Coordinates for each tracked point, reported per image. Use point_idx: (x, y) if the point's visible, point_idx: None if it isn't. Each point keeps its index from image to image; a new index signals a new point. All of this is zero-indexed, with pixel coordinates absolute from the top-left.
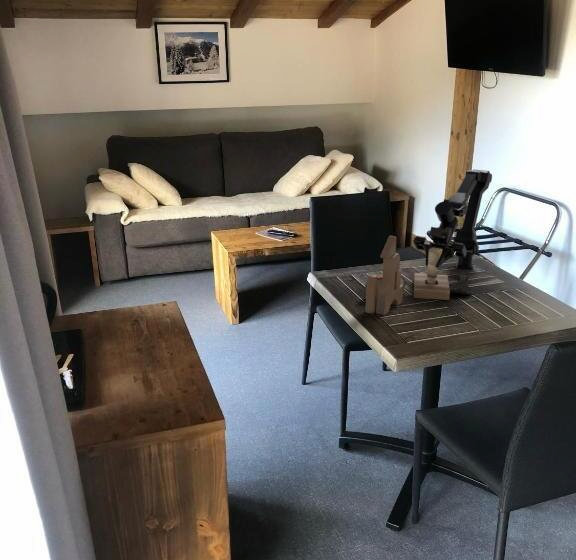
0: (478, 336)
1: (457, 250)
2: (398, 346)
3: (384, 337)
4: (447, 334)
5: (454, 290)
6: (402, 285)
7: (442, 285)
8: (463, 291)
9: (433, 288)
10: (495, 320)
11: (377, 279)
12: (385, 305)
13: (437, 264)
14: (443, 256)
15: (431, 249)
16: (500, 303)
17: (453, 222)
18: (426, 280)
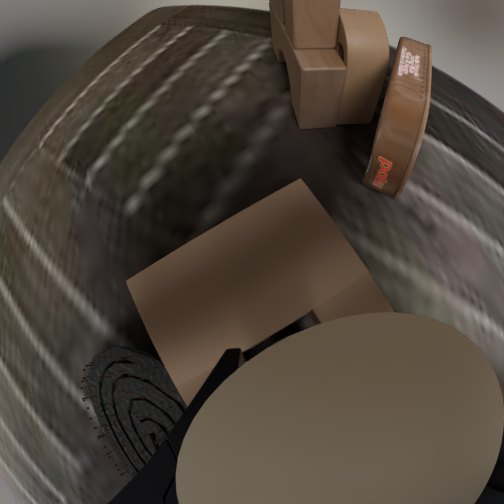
0: (41, 125)
1: None
2: (169, 15)
3: (205, 12)
4: (95, 83)
5: (131, 350)
6: (303, 65)
7: (205, 360)
8: (93, 361)
9: (223, 269)
10: (8, 229)
11: (399, 39)
12: (271, 25)
13: (224, 366)
14: (143, 471)
15: (452, 450)
16: (17, 379)
17: None
18: None
